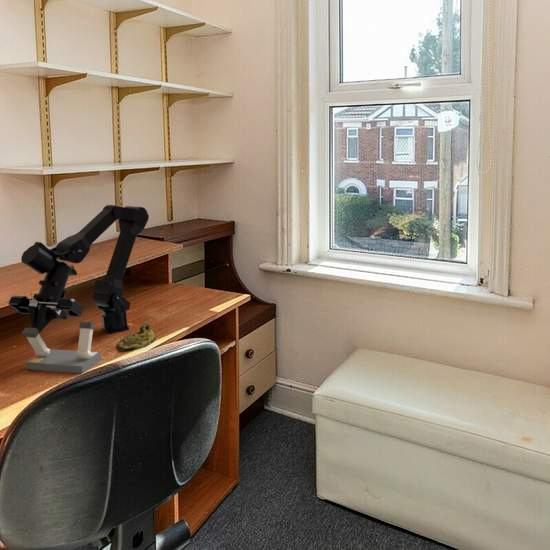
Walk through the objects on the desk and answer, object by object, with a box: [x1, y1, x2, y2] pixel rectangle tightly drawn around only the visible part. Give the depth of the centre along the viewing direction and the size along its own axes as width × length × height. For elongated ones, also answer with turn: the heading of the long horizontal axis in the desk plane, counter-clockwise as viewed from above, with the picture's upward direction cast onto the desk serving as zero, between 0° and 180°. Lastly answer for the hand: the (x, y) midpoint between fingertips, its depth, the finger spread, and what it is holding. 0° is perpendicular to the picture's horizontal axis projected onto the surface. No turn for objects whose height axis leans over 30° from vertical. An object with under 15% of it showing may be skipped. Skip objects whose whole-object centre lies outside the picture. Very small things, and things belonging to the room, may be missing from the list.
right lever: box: [76, 321, 96, 358], centre depth 144 cm, size 2×3×9 cm, turn 77°
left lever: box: [21, 327, 51, 356], centre depth 143 cm, size 2×3×9 cm
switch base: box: [24, 348, 102, 375], centre depth 145 cm, size 9×16×2 cm, turn 77°
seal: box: [117, 322, 157, 352], centre depth 159 cm, size 9×5×15 cm
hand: (34, 335), depth 143 cm, fingers closed, pressing on left lever
